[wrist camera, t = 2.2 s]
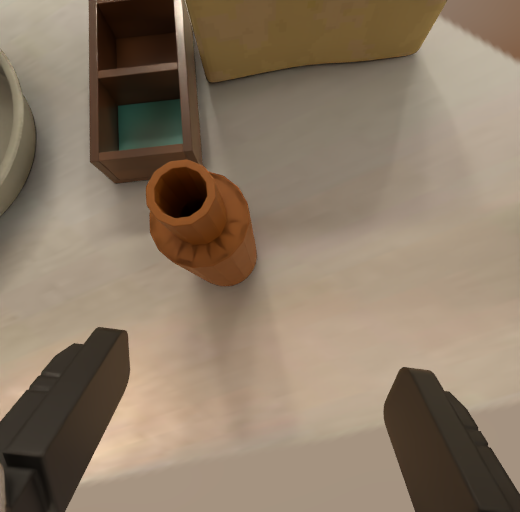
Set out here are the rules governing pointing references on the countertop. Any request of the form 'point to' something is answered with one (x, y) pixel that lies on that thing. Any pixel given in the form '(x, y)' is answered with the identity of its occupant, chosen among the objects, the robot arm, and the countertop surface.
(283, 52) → the cheese
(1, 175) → the cake pan
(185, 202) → the bottle
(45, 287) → the countertop surface
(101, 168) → the holder
